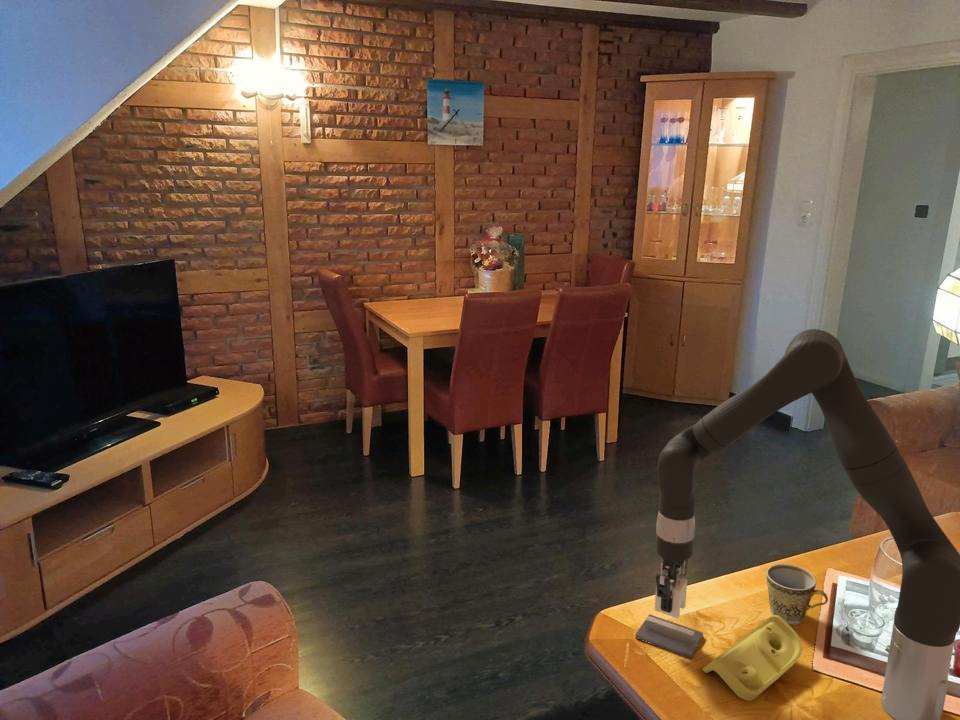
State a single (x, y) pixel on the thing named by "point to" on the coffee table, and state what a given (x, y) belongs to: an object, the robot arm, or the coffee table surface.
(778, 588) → the ceramic cup
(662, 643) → the panel
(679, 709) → the coffee table surface
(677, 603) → the block
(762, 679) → the plastic component
